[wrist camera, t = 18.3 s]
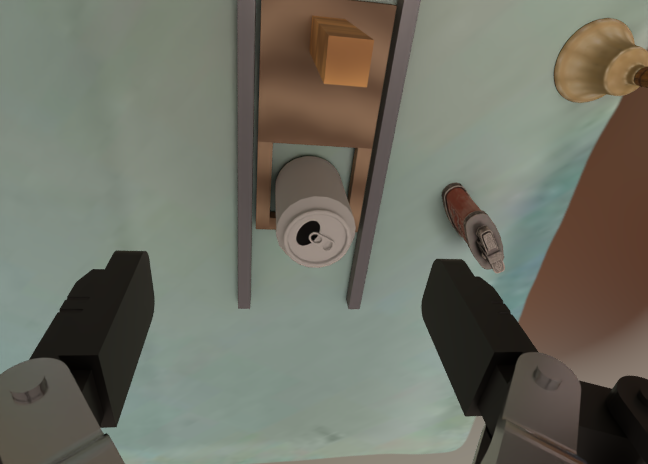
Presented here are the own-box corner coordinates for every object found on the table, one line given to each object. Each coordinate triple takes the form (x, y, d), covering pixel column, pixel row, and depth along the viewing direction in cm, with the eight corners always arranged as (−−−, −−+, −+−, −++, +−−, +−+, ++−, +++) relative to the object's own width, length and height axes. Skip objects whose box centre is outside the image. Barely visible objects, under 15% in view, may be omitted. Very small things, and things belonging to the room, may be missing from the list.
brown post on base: (355, 225, 52) (380, 302, 40) (256, 222, 50) (252, 301, 38) (392, 4, 39) (445, 21, 27) (261, -11, 37) (258, 1, 26)
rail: (356, 299, 58) (359, 309, 57) (239, 298, 56) (238, 308, 54) (417, -19, 38) (424, -18, 37) (238, -41, 36) (237, -41, 34)
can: (297, 140, 45) (304, 190, 35) (353, 173, 48) (375, 228, 38) (262, 194, 48) (261, 255, 38) (317, 222, 51) (329, 285, 41)
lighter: (481, 226, 54) (520, 275, 46) (456, 238, 55) (490, 288, 46) (462, 177, 50) (501, 220, 42) (436, 190, 51) (469, 236, 42)
